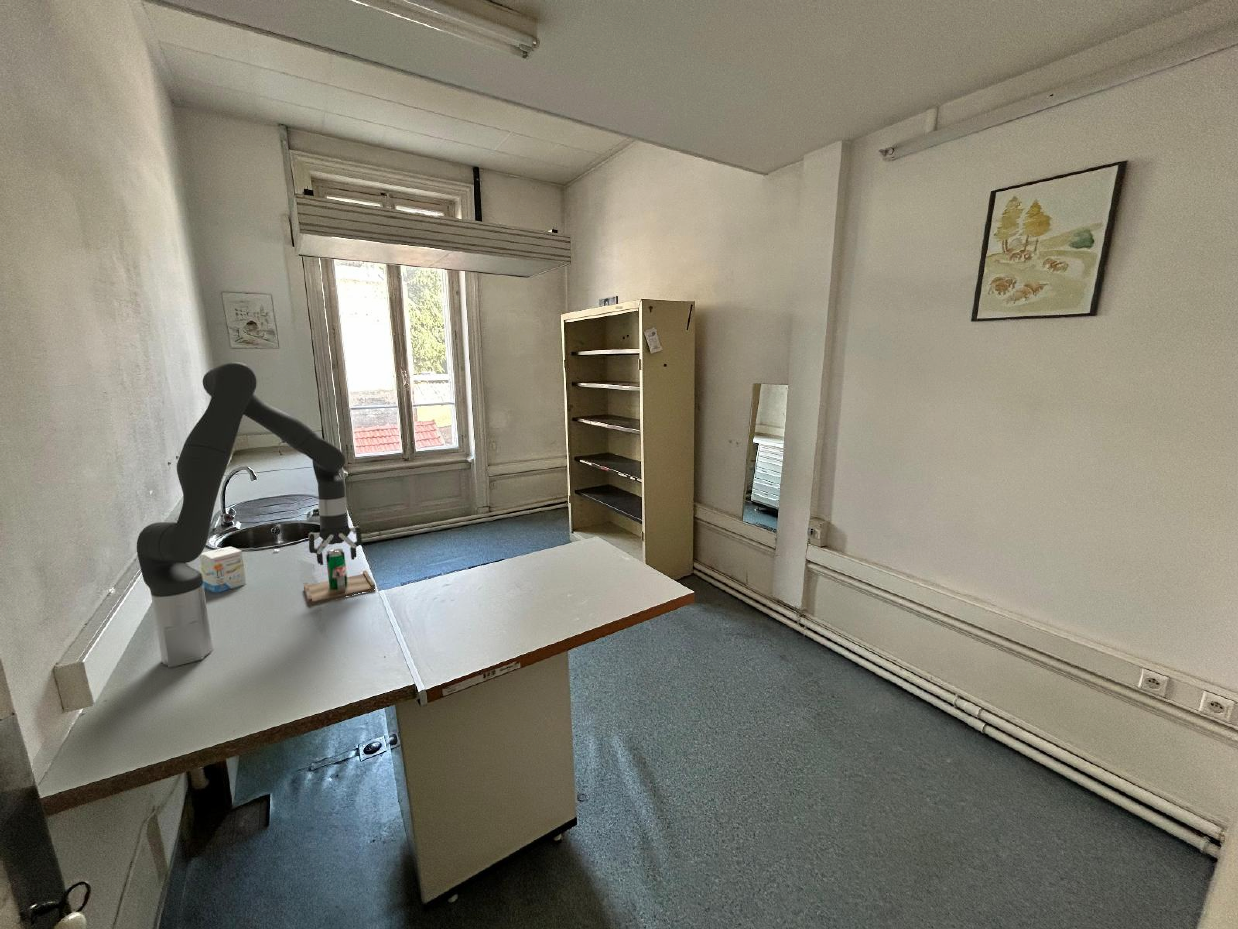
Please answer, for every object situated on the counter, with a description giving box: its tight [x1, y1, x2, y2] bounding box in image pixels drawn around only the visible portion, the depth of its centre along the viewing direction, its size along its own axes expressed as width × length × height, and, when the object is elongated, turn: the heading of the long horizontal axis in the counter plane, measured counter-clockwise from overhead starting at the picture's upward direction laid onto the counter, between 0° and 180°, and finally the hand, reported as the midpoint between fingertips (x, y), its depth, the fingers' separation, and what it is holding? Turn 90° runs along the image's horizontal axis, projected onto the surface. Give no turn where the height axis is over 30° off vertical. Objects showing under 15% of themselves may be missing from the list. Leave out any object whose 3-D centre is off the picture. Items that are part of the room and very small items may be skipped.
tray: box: [303, 570, 376, 607], centre depth 153 cm, size 14×18×6 cm
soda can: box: [325, 548, 348, 589], centre depth 152 cm, size 5×5×12 cm
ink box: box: [199, 546, 247, 594], centre depth 155 cm, size 9×8×12 cm
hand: (337, 561), depth 152 cm, fingers open, 8 cm apart
